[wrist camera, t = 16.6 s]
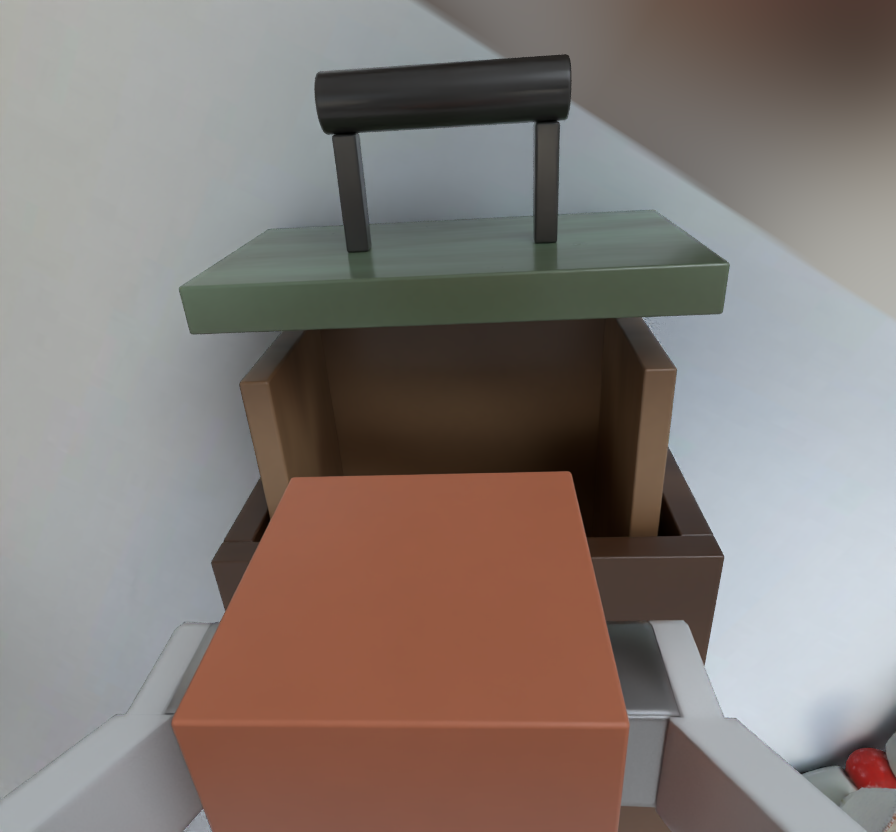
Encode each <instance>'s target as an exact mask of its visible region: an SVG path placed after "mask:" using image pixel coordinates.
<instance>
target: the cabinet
mask: <svg viewBox="0 0 896 832" xmlns="http://www.w3.org/2000/svg"><path fill="white" fill-rule="evenodd" d="M269 522H270V515H269V511H268V507H267V502H266V498H265V494H264V489H263V485H262V481H261V477H260V479H259V480H258V482H257V484H256V486H255V487H254V489H253V491H252V493H251V494H250V496H249V498H248V499H247V501H246V503H245V505H244V506H243V508H242V510H241V512H240V513H239V515H238V517H237V518H236V520H235V522H234V524H233V525H232V527H231V529H230V531H229V532H228V534H227V536H226V537H225V539H224V543H222V544H221V546H220V548H219V549H218V551H217V553H216V554H215V556H214V558H213V560H212V562H211V564H212V568H213V571H214V574H215V578H216V581H217V584H218V588H219V591H220V595H221V598H222V601H223V605H224V608H225V611H226V609H227V607H228V605H229V603H230V601H231V599H232V597H233V595H234V593H235V591H236V589H237V587H238V585H239V583H240V581H241V579H242V577H243V575H244V573H245V571H246V569H247V567H248V565H249V563H250V561H251V559H252V557H253V555H254V553H255V551H256V549H257V547H258V545H259V543H260V541H261V538H262V536H263V534H264V532H265V530H266V528H267V526H268V524H269ZM586 538H587V543H588V547H589V551H590V556H591V560H592V564H593V568H594V573H595V577H596V581H597V586H598V590H599V594H600V598H601V603H602V607H603V611H604V616H605V620H606V621H647V622H648V621H656V620H684V622H685V623H686V624H687V625H688V626H689V628H690V631H691V634H692V636H693V639H694V641H695V644H696V646H697V649H698V651H699V654H700V656H701V659H702V662H703V664H704V665H705V660H706V654H707V649H708V643H709V638H710V632H711V627H712V622H713V616H714V611H715V605H716V600H717V594H718V589H719V583H720V578H721V572H722V567H723V561H724V555H723V553H722V551H721V549H720V547H719V545H718V543H717V541H716V539H715V537H714V536H713V533H712V531H711V529H710V527H709V525H708V524H707V522H706V520H705V518H704V516H703V514H702V512H701V510H700V508H699V506H698V504H697V502H696V500H695V498H694V496H693V494H692V492H691V490H690V488H689V486H688V485H687V483H686V481H685V479H684V477H683V475H682V473H681V471H680V469H679V467H678V465H677V463H676V461H675V459H674V457H673V455H672V453H671V451H670V449H669V447H668V450H667V459H666V467H665V476H664V484H663V492H662V501H661V509H660V518H659V526H658V535H657V536H650V537H586ZM655 809H656V807H637V806H621V808H620V817H619V826H618V832H671V831H670V829H669V828H668V827H667V825H666V824H665V823H664V821H663V820H662V819H661V817H660V816H659V815H658V814H657V812H656V811H655Z"/></svg>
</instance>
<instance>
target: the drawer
mask: <svg viewBox="0 0 896 832" xmlns="http://www.w3.org/2000/svg"><path fill="white" fill-rule="evenodd" d="M314 90H315V103H316V109H317V115H318V119H319V122H320V125H321V128H322V130H323V132H324V133H325V134H327V135H333V134H336V135H333V136H332V141H333V148H334V156H335V164H336V171H337V179H338V186H339V194H340V202H341V209H342V217H343V225H344V226H324V227H304V228H285V229H268V230H267V231H265V232H264V233H262V234H261V235H259V236H257V237H256V238H254V239H253V240H251V241H250V242H248V243H247V244H245V245H244V246H242V247H240V248H239V249H237V250H236V251H234V252H233V253H231V254H230V255H228V256H227V257H225V258H224V259H222V260H220V261H219V262H217V263H216V264H214V265H213V266H211V267H210V268H208V269H207V270H205V271H204V272H202V273H200V274H199V275H197V276H196V277H194V278H193V279H191V280H190V281H188V282H187V283H185V284H184V285H182V286H180V287H179V292H180V296H181V300H182V303H183V307H184V311H185V315H186V319H187V323H188V327H189V330H190V333H191V334H218V333H244V332H270V331H282V332H281V334H280V335H279V336H278V337H277V338H276V340H275V341H274V342H273V343H272V344H271V346H270V347H269V348H268V349H267V350H266V352H265V353H264V354H263V355H262V356H261V358H260V359H259V360H258V361H257V362H256V364H255V365H254V366H253V367H252V368H251V370H250V371H249V372H248V373H247V374H246V376H245V377H244V378H243V379H242V380H241V382H240V384H239V386H240V390H241V394H242V399H243V403H244V407H245V412H246V416H247V420H248V425H249V429H250V433H251V438H252V442H253V446H254V451H255V455H256V459H257V464H258V468H259V472H260V476H261V481H262V485H263V489H264V494H265V498H266V502H267V507H268V511H269V515H270V520H271V518H272V516H273V514H274V512H275V510H276V508H277V506H278V504H279V502H280V500H281V498H282V496H283V494H284V492H285V490H286V488H287V486H288V484H289V482H290V480H291V478H293V477H328V476H374V475H420V474H466V473H512V472H558V471H568V472H571V474H572V478H573V483H574V487H575V491H576V495H577V500H578V504H579V508H580V513H581V517H582V521H583V525H584V530H585V534H586V537H650V536H657V535H658V526H659V518H660V509H661V501H662V492H663V484H664V476H665V467H666V459H667V450H668V442H669V433H670V425H671V416H672V408H673V399H674V391H675V382H676V374H677V369H676V367H675V366H674V364H673V363H672V361H671V360H670V358H669V357H668V355H667V354H666V352H665V351H664V349H663V348H662V347H661V345H660V344H659V342H658V341H657V339H656V338H655V336H654V335H653V333H652V332H651V331H650V329H649V328H648V326H647V325H646V323H645V322H644V320H643V319H642V317H658V316H684V315H710V314H721V313H722V312H723V307H724V300H725V293H726V286H727V280H728V273H729V266H730V265H729V262H727V261H726V260H724V259H723V258H722V257H720V256H719V255H717V254H716V253H714V252H713V251H712V250H710V249H709V248H707V247H706V246H705V245H703V244H702V243H700V242H699V241H698V240H696V239H695V238H693V237H692V236H691V235H689V234H688V233H686V232H685V231H684V230H682V229H681V228H679V227H678V226H677V225H675V224H674V223H672V222H671V221H670V220H668V219H667V218H665V217H664V216H663V215H661V214H660V213H658V212H657V211H656V210H639V211H620V212H600V213H580V214H560V215H558V186H559V139H560V124H559V122H558V121H561V120H566V119H567V118H568V115H569V110H570V101H571V63H570V58H569V56H568V55H566V54H565V55H551V56H537V57H522V58H507V59H493V60H478V61H464V62H449V63H435V64H420V65H406V66H391V67H377V68H362V69H348V70H333V71H320V72H318V73H317V74H316V77H315V89H314ZM528 122H535V123H534V145H533V216H521V217H501V218H482V219H462V220H442V221H423V222H403V223H383V224H369V217H368V208H367V199H366V190H365V181H364V172H363V163H362V154H361V146H360V137H359V134H358V133H366V132H382V131H398V130H415V129H431V128H447V127H463V126H480V125H496V124H512V123H528Z"/></svg>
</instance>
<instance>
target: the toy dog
mask: <svg viewBox="0 0 896 832" xmlns="http://www.w3.org/2000/svg"><path fill="white" fill-rule="evenodd" d="M885 746H886V752H884V751H882V750H880V749H876V748H869V747H868V748H861V749H857V750H855V751H854V752H852V753H851V754H850V756H849V758H848V759H847V761H846V768H845V770H844V769H843V768H842V767H840V766H830V767H824V768H820V769H816V770H812V771H809V772H806V773H803V774H801V775H802V776H804V777H805V778H806V779H807V780H808V781H809V782H810V783H812V784H813V785H814V786H815V787H816V788H817V789H819V790H820V791H821V792H822V793H823V794H824V795H826V796H827V797H828V798H829V799H830V800H831V801H832V802H834V803H835V804H836V805H837V806H838V807H839V808H841V809H842V810H843V811H844V812H845V813H846V814H848V815H849V816H850V817H851V818H852V819H853V820H855V821H856V822H857V823H858V824H859V825H860V826H861V827H863V828H864V829H865V830H866V831H867V832H896V732H895V733H894V734H893V735H892V736H891V737H890V739H889V740H888V741H887V743H886V745H885Z"/></svg>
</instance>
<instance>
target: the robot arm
mask: <svg viewBox="0 0 896 832" xmlns="http://www.w3.org/2000/svg"><path fill="white" fill-rule="evenodd" d="M219 623H220V622H215V623H197V622H184V623H182V624H181V625H180V626H179V627H177V628H176V629H175V630H174V632H173V634H172V635H171V637H170V639H169V641H168V642H167V644H166V646H165V647H164V649H163V651H162V653H161V654H160V656H159V658H158V660H157V661H156V663H155V665H154V666H153V668H152V670H151V672H150V673H149V675H148V677H147V679H146V680H145V682H144V684H143V685H142V687H141V689H140V691H139V692H138V694H137V696H136V698H135V699H134V701H133V703H132V704H131V706H130V708H129V710H128V711H127V713H126V714H116V715H114V716H113V717H112V718H110V719H109V720H108V721H106V722H105V723H104V724H102V725H101V726H100V727H98V728H97V729H96V730H94V731H93V732H91V733H90V734H89V735H87V736H86V737H85V738H83V739H82V740H81V741H79V742H78V743H77V744H75V745H74V746H73V747H71V748H70V749H69V750H67V751H66V752H64V753H63V754H62V755H60V756H59V757H58V758H56V759H55V760H54V761H52V762H51V763H50V764H48V765H47V766H46V767H44V768H43V769H42V770H40V771H39V772H38V773H36V774H35V775H33V776H32V777H31V778H29V779H28V780H27V781H25V782H24V783H23V784H21V785H20V786H19V787H17V788H16V789H15V790H13V791H12V792H11V793H9V794H8V795H6V796H5V797H4V798H2V799H1V800H0V832H183V831H184V830H185V828H186V827H187V826H188V825H189V824H190V823H191V822H192V821H193V819H194V818H195V817H196V816H197V815H198V814H199V813H200V812H201V810H202V809H203V806H202V804H201V801H200V799H199V796H198V793H197V791H196V788H195V786H194V783H193V781H192V778H191V775H190V773H189V770H188V768H187V765H186V762H185V760H184V757H183V755H182V752H181V749H180V747H179V744H178V742H177V739H176V737H175V734H174V731H173V729H172V726H171V722H172V718H173V716H174V714H175V712H176V710H177V708H178V706H179V704H180V702H181V700H182V698H183V696H184V694H185V692H186V690H187V688H188V686H189V684H190V682H191V680H192V678H193V676H194V674H195V672H196V670H197V668H198V666H199V664H200V662H201V660H202V658H203V656H204V654H205V652H206V650H207V648H208V646H209V644H210V642H211V640H212V638H213V636H214V633H215V631H216V629H217V627H218V625H219ZM606 624H607V628H608V633H609V637H610V641H611V646H612V650H613V654H614V659H615V663H616V667H617V671H618V676H619V680H620V684H621V689H622V693H623V697H624V701H625V706H626V710H627V714H628V719H629V723H630V728H629V737H628V746H627V755H626V764H625V772H624V781H623V790H622V799H621V806H637V807H656V809H655V811H656V812H657V814H658V815H659V816H660V817H661V819H662V820H663V821H664V823H665V824H666V825H667V827H668V828H669V829H670V831H671V832H867V831H866V830H865V829H864V828H863V827H861V826H860V825H859V824H858V823H857V822H856V821H855V820H853V819H852V818H851V817H850V816H849V815H848V814H846V813H845V812H844V811H843V810H842V809H841V808H839V807H838V806H837V805H836V804H835V803H834V802H832V801H831V800H830V799H829V798H828V797H827V796H826V795H824V794H823V793H822V792H821V791H820V790H819V789H817V788H816V787H815V786H814V785H813V784H812V783H810V782H809V781H808V780H807V779H806V778H805V777H804V776H802V775H801V774H800V773H799V772H798V771H797V770H795V769H794V768H793V767H792V766H791V765H790V764H788V763H787V762H786V761H785V760H784V759H783V758H781V757H780V756H779V755H778V754H777V753H776V752H775V751H773V750H772V749H771V748H770V747H769V746H768V745H766V744H765V743H764V742H763V741H762V740H761V739H759V738H758V737H757V736H756V735H755V734H754V733H753V732H751V731H750V730H749V729H748V728H747V727H746V726H744V725H743V724H742V723H741V722H740V721H739V720H737V719H736V718H724V715H723V713H722V710H721V708H720V705H719V702H718V700H717V697H716V695H715V692H714V690H713V687H712V685H711V682H710V679H709V677H708V674H707V672H706V669H705V667H704V664H703V662H702V659H701V656H700V654H699V651H698V649H697V646H696V644H695V641H694V639H693V636H692V634H691V631H690V628H689V626H688V625H687V624H686V623H685V622H684V620H656V621H648V622H647V621H606Z"/></svg>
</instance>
